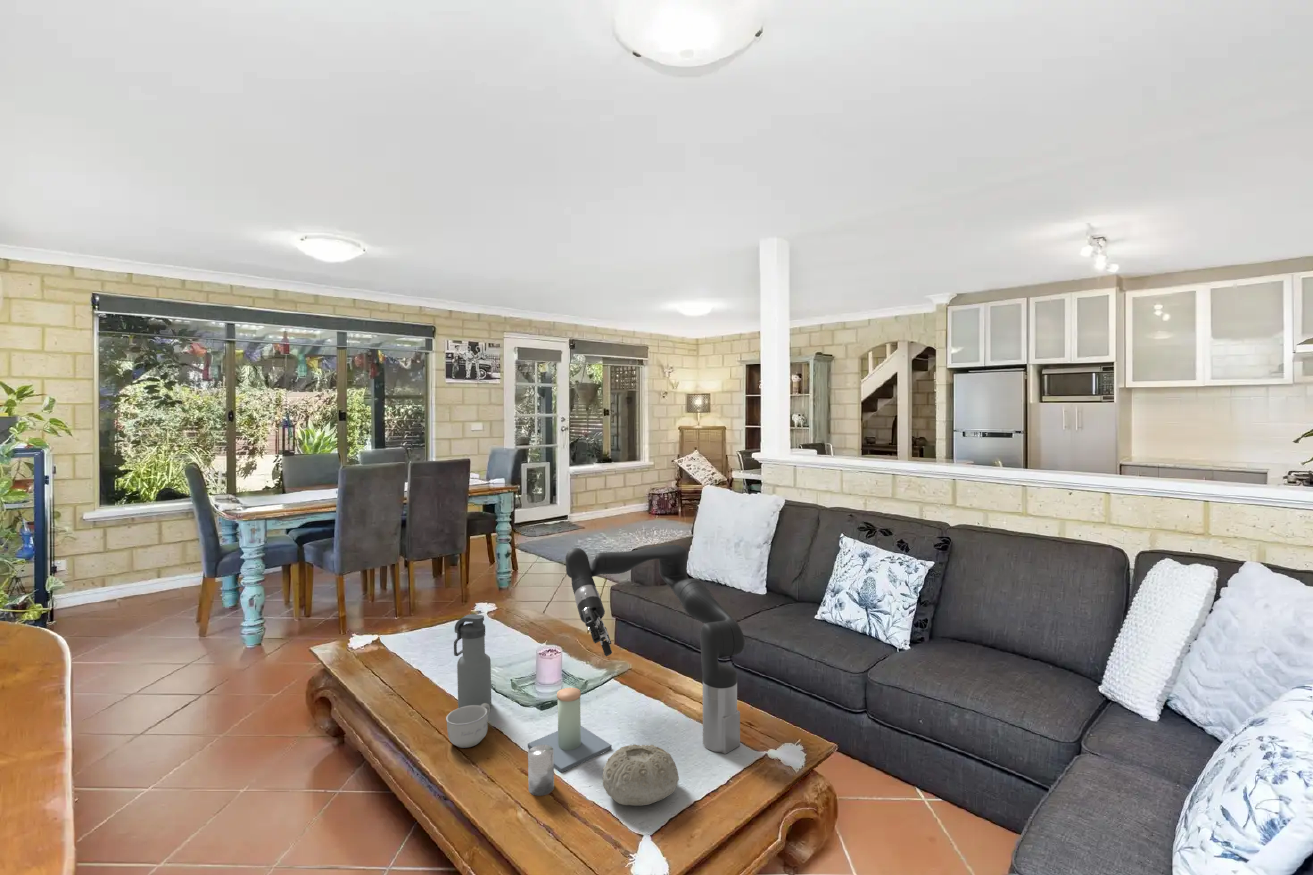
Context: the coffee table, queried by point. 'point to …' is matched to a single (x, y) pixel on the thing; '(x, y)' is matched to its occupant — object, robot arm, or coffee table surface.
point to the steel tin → (541, 770)
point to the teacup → (468, 725)
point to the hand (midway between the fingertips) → (603, 648)
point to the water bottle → (472, 662)
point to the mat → (571, 758)
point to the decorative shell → (640, 775)
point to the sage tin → (569, 718)
